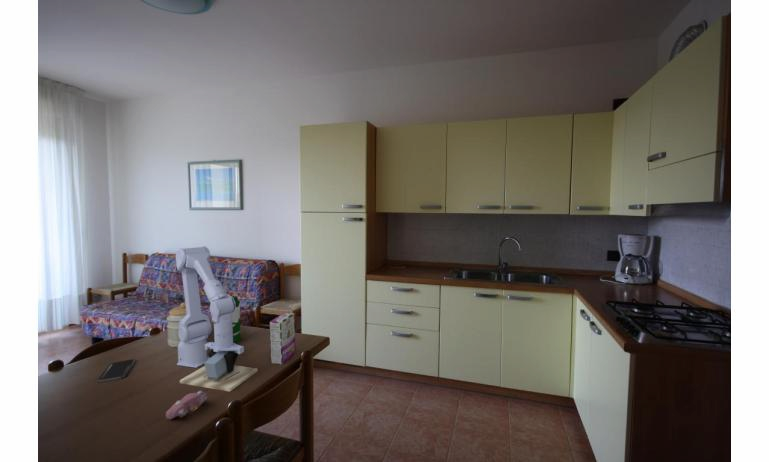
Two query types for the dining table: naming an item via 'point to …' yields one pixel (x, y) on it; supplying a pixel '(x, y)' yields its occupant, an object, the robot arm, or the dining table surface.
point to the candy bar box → (282, 338)
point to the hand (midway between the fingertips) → (224, 371)
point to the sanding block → (216, 366)
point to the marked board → (224, 382)
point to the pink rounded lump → (186, 404)
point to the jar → (175, 324)
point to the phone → (116, 370)
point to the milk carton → (236, 320)
